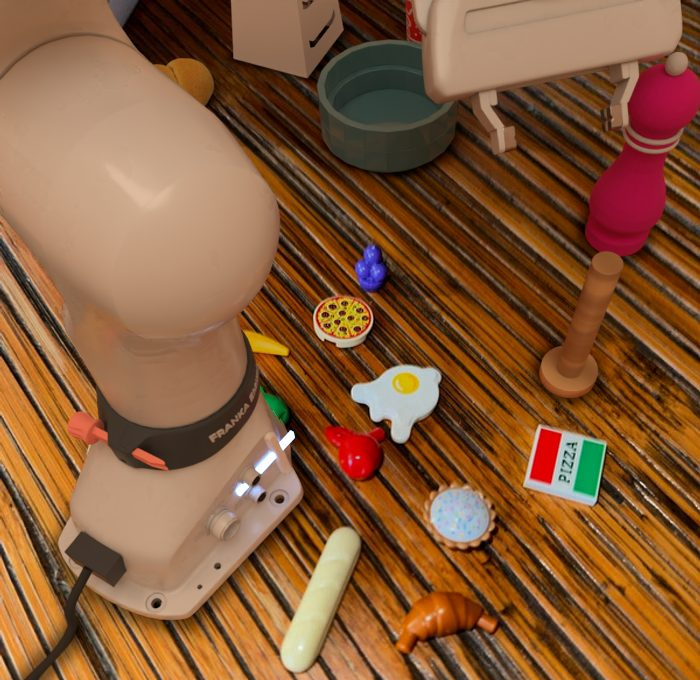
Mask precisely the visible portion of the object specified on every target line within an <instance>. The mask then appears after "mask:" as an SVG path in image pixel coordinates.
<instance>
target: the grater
mask: <svg viewBox="0 0 700 680" xmlns="http://www.w3.org/2000/svg"><path fill="white" fill-rule="evenodd" d="M311 1H312V2H311ZM304 2H305V3H307V4H304ZM230 3H231V4H230V7H231V8H230V9H231V29H232V31H231V32H232V52H233V53H232V54H233V58H232V59H234V60H237V61H241V62H243V63H249V64H252V65H256V66H259V67H263V68H266V69H267V68H268V69H270V70H274V71H278V72H281V73H286V74H289V75H294V76H297V77H300V78H305V79H308V78H309V77H310V76H311V74H312V73H313V72H314V70H315V69H316V67H317V66H318V65H319V64H320V63H321V61H322V60H323V58H324V57H325V55H326V54H327V53H328V51H330V49H331V48H332V46H333V45H334V43H335V42H336V41H337V40H338V38H339V37H340V36H341V34H342V33H343V32H344V25H343V20H342V19H343V18H342V14H341V9H340V8H341V7H340V3H339V0H230ZM326 26H327V27H328V29H326V31H325V33H323V35H321V38H319V40H318V41H317V43H316V44H315V45H314V46H313V47H311V44H310V42H314V41H315V40H316V39H317V38H318V36H319V35H320V33H321V32H322V31H323V30H324V28H325V27H326Z"/></svg>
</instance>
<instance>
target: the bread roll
mask: <svg viewBox="0 0 700 680" xmlns="http://www.w3.org/2000/svg"><path fill="white" fill-rule="evenodd" d="M153 65H154V66H156V67H157V68H158V69H159V70H160V71H162V72H163V73H164V74H165V75H167V76H168V77H169V78H170V79H171V80H173V81H174V82H175V83H176V84H178V85H179V86H180V87H181V88H183V89H184V90H185V91H186V92H187V93H189V94H190V95H191V96H192V97H194V98H195V99H196V100H197V101H198V102H200V103H201V104H202V105H203V106H205V107H206V105H208V103H209V101H210V99H211V97H212V95H213V93H214V91H215V90H214V89H215V82H214V79H213V75H212V73H211V71H210V70H209V68H207V66H205V64H204V63H202V62H200V61H199V60H196V59H193V58H187V57H185V58H182V57H181V58H180V57H179V58H175V59H173V60H171V61H170V62H169V63H167V64H166V65H164V64H159V63H158V64H157V63H156V64H153Z"/></svg>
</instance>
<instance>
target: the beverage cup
mask: <svg viewBox="0 0 700 680" xmlns="http://www.w3.org/2000/svg"><path fill="white" fill-rule="evenodd" d="M405 22H406V23H405V24H406V26H405V27H406V41H412V42H415V43H418V44H422V33H421V32H420V31H419V29H418V28H417V26H416V24H415V21H414V16H413V10H412V4H411V0H405Z"/></svg>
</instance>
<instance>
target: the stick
mask: <svg viewBox="0 0 700 680" xmlns="http://www.w3.org/2000/svg"><path fill="white" fill-rule="evenodd" d="M623 269H624V260H623V258H622V257H620V256H618V255H617V254H615V253H613V252H608V251H604V252H599V251H598V252H597V253H596V254H594V256H592V259H591V260H590V264H589V266H588V270H587V273H586V276H585V279H584V282H583V285H582V288H581V291H580V294H579V297H578V299H577V303H576V306H575V309H574V312H573V315H572V318H571V322H570V324H569V327H568V330H567V333H566V336H565V338H564V341H563V345H560V346H555V347H553V348H551V349H550V350H548V351H547V352H546V353H545V354H544V355H543V357H542V359H541V362H540V366H539V371H538V374H539V380H540V382H541V384H542V385H543V387H544V388H545V390H547V391H548V392H550V393H551V394H553V395H554V396H557V397H560V398H564V399H576V398H580V397H582V396H585V395H586V394H588V393H589V392H590V391H591V390H592V389H593V387H594V386H595V384H596V381H597V378H598V376H599V367H598V364H597V361H596V359H595V358H594V356H593V355H592V354H591V351H592V348H593V346H594V343H595V341H596V339H597V336H598V333H599V330H600V328H601V325H602V322H603V321H604V318H605V315H606V312H607V310H608V308H609V305H610V303H611V301H612V297H613V295H614V292H615V290H616V287H617V284H618V282H619V279H620V278H621V277H620V276H621V274H622V271H623Z"/></svg>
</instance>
